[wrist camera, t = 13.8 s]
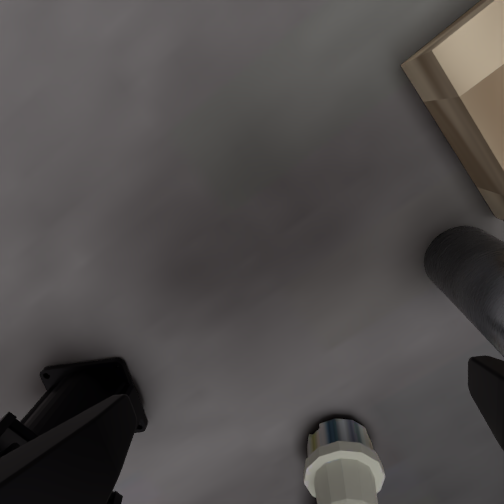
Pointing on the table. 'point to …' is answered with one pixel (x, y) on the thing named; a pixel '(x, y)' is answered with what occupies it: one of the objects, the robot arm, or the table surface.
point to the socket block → (468, 93)
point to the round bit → (471, 277)
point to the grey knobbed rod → (342, 464)
